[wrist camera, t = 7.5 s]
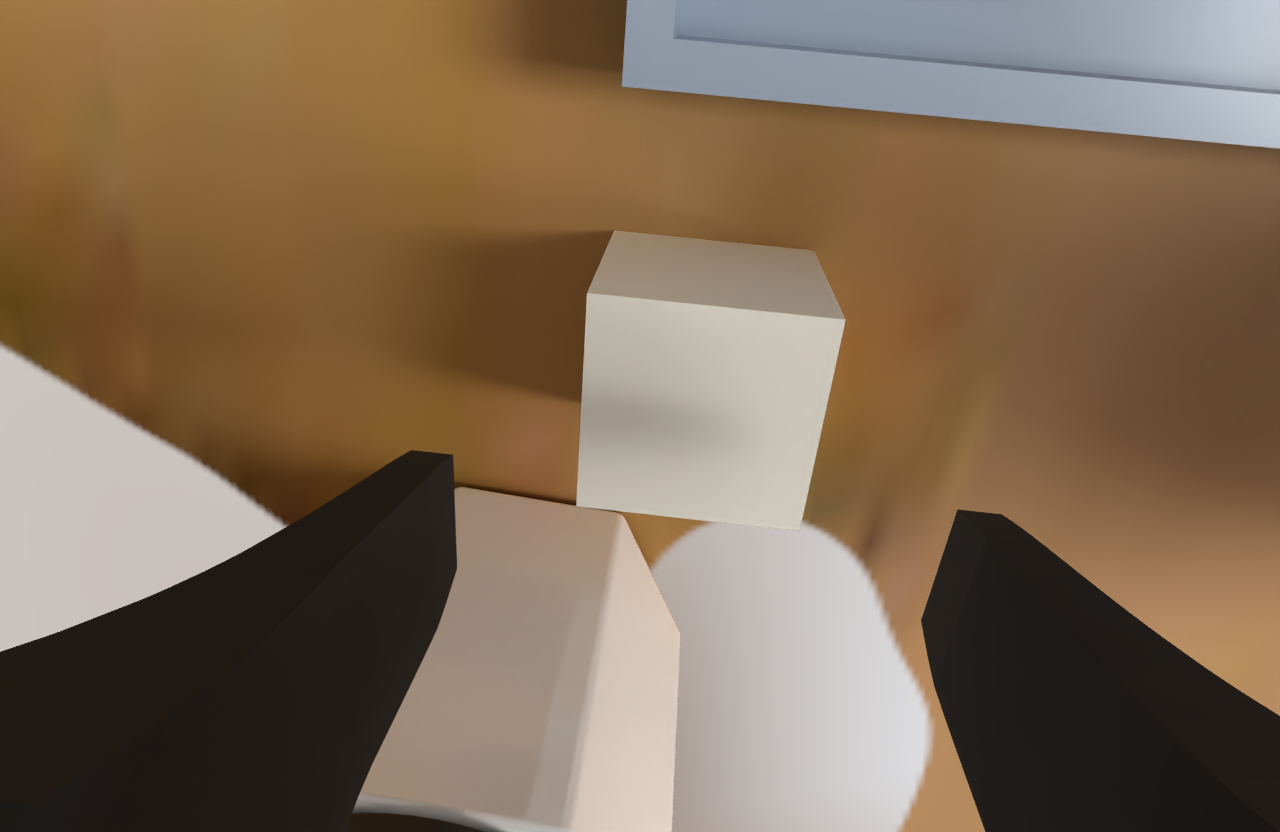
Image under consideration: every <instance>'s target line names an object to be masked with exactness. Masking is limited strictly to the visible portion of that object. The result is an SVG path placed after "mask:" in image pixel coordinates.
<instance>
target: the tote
mask: <svg viewBox="0 0 1280 832" xmlns="http://www.w3.org/2000/svg"><path fill="white" fill-rule="evenodd" d="M622 87H632V88H642V89H653V90H664V91H674V92H685V93H695V94H706V95H717V96H727V97H738V98H748V99H759V100H770V101H780V102H791V103H801V104H812V105H823V106H833V107H844V108H854V109H865V110H876V111H886V112H897V113H907V114H918V115H929V116H939V117H950V118H960V119H971V120H982V121H992V122H1003V123H1013V124H1024V125H1035V126H1045V127H1056V128H1066V129H1077V130H1088V131H1098V132H1109V133H1119V134H1130V135H1141V136H1151V137H1162V138H1172V139H1183V140H1194V141H1204V142H1215V143H1225V144H1236V145H1247V146H1257V147H1268V148H1278V149H1280V0H627V12H626V28H625V43H624V59H623V75H622Z"/></svg>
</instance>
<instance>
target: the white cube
mask: <svg viewBox="0 0 1280 832" xmlns="http://www.w3.org/2000/svg"><path fill="white" fill-rule="evenodd" d="M845 320H846V319H845V317H844V315H843V313H842V311H841V308H840V306H839V304H838V302H837V300H836V297H835V295H834V293H833V291H832V289H831V286H830V284H829V282H828V280H827V278H826V275H825V273H824V271H823V269H822V266H821V264H820V262H819V260H818V258H817V255H816V253H815V251H814V250H804V249H794V248H784V247H774V246H765V245H755V244H745V243H735V242H725V241H715V240H705V239H695V238H685V237H675V236H665V235H655V234H645V233H635V232H626V231H616V230H614V232H613V234H612V237H611V239H610V241H609V244H608V246H607V248H606V250H605V253H604V255H603V257H602V260H601V262H600V264H599V267H598V269H597V271H596V274H595V276H594V278H593V280H592V283H591V285H590V287H589V290H588V292H587V304H586V323H585V343H584V363H583V383H582V402H581V422H580V442H579V461H578V481H577V501H576V506H578V507H587V508H596V509H605V510H614V511H623V512H631V513H640V514H649V515H658V516H667V517H676V518H685V519H694V520H703V521H712V522H721V523H730V524H739V525H748V526H756V527H766V528H774V529H784V530H793V531H800V527H801V522H802V517H803V513H804V508H805V504H806V499H807V494H808V490H809V485H810V481H811V476H812V472H813V467H814V462H815V458H816V453H817V449H818V444H819V439H820V435H821V430H822V426H823V421H824V417H825V412H826V407H827V403H828V398H829V394H830V389H831V384H832V380H833V375H834V371H835V366H836V361H837V357H838V352H839V348H840V343H841V339H842V334H843V329H844V325H845Z"/></svg>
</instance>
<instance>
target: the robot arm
mask: <svg viewBox="0 0 1280 832" xmlns="http://www.w3.org/2000/svg"><path fill="white" fill-rule="evenodd" d="M456 571H457V547H456V520H455V494H454V468H453V455H450V454H441V453H432V452H422V451H413V450H411V451H409V452H407V453H406V454H404V455H402V456H400V457H399V458H397V459H395V460H394V461H392V462H391V463H389V464H387V465H386V466H384V467H383V468H381V469H380V470H378V471H376V472H375V473H373V474H372V475H370V476H369V477H367V478H366V479H364V480H363V481H361V482H359V483H358V484H356V485H355V486H353V487H352V488H350V489H349V490H347V491H345V492H344V493H342V494H341V495H339V496H337V497H336V498H334V499H333V500H331V501H329V502H328V503H326V504H325V505H323V506H321V507H320V508H318V509H317V510H315V511H313V512H312V513H310V514H309V515H307V516H305V517H304V518H302V519H300V520H298V521H297V522H295V523H293V524H291V525H289V526H288V527H286V528H284V529H282V530H281V531H279V532H277V533H275V534H274V535H272V536H270V537H268V538H267V539H265V540H263V541H262V542H259V543H258V544H256V545H254V546H253V547H251V548H249V549H247V550H245V551H244V552H242V553H240V554H238V555H236V556H234V557H232V558H230V559H228V560H226V561H225V562H222V563H220V564H218V565H216V566H214V567H212V568H210V569H208V570H206V571H205V572H202V573H200V574H198V575H196V576H194V577H191V578H189V579H187V580H185V581H183V582H181V583H178V584H176V585H174V586H172V587H170V588H168V589H165V590H163V591H161V592H159V593H156V594H154V595H152V596H149V597H147V598H145V599H142V600H140V601H137V602H134V603H132V604H130V605H127V606H124V607H122V608H119V609H117V610H114V611H111V612H109V613H106V614H104V615H101V616H99V617H96V618H93V619H91V620H88V621H86V622H83V623H81V624H78V625H76V626H73V627H70V628H68V629H65V630H63V631H60V632H57V633H55V634H52V635H49V636H46V637H43V638H40V639H37V640H34V641H31V642H28V643H25V644H22V645H20V646H16V647H13V648H10V649H7V650H4V651H1V652H0V832H345V831H346V829H347V826H348V823H349V820H350V818H351V815H352V812H353V810H354V807H355V804H356V801H357V799H358V796H359V794H360V792H361V789H362V787H363V785H364V782H365V780H366V778H367V775H368V773H369V771H370V768H371V766H372V764H373V762H374V760H375V758H376V756H377V754H378V752H379V749H380V747H381V745H382V743H383V741H384V739H385V737H386V735H387V733H388V731H389V729H390V727H391V725H392V723H393V721H394V719H395V716H396V714H397V712H398V710H399V708H400V706H401V704H402V702H403V700H404V698H405V696H406V694H407V692H408V690H409V688H410V686H411V683H412V681H413V679H414V677H415V675H416V673H417V671H418V669H419V667H420V665H421V663H422V661H423V658H424V656H425V654H426V652H427V650H428V648H429V646H430V644H431V642H432V639H433V637H434V635H435V633H436V631H437V629H438V626H439V623H440V620H441V617H442V614H443V611H444V608H445V605H446V602H447V599H448V596H449V593H450V590H451V587H452V583H453V580H454V577H455V574H456ZM921 622H922V628H923V633H924V639H925V644H926V649H927V655H928V660H929V664H930V669H931V673H932V678H933V682H934V686H935V689H936V693H937V696H938V699H939V702H940V704H941V707H942V710H943V713H944V716H945V719H946V722H947V725H948V728H949V731H950V733H951V736H952V739H953V742H954V745H955V748H956V750H957V753H958V756H959V759H960V762H961V764H962V767H963V770H964V773H965V776H966V778H967V781H968V784H969V787H970V790H971V792H972V795H973V798H974V801H975V804H976V806H977V809H978V812H979V815H980V818H981V821H982V823H983V826H984V829H985V832H1280V716H1279V715H1277V714H1276V713H1274V712H1273V711H1271V710H1269V709H1268V708H1266V707H1265V706H1263V705H1261V704H1260V703H1258V702H1257V701H1255V700H1253V699H1252V698H1250V697H1249V696H1247V695H1245V694H1244V693H1242V692H1241V691H1239V690H1238V689H1236V688H1235V687H1233V686H1232V685H1230V684H1229V683H1227V682H1226V681H1224V680H1223V679H1221V678H1220V677H1218V676H1217V675H1215V674H1214V673H1212V672H1211V671H1209V670H1208V669H1206V668H1205V667H1203V666H1202V665H1201V664H1199V663H1198V662H1196V661H1195V660H1194V659H1192V658H1191V657H1189V656H1188V655H1187V654H1185V653H1184V652H1182V651H1181V650H1180V649H1178V648H1177V647H1175V646H1174V645H1173V644H1171V643H1170V642H1168V641H1167V640H1166V639H1164V638H1163V637H1161V636H1160V635H1159V634H1157V633H1156V632H1155V631H1153V630H1152V629H1151V628H1149V627H1148V626H1147V625H1145V624H1144V623H1142V622H1141V621H1140V620H1138V619H1137V618H1136V617H1134V616H1133V615H1132V614H1131V613H1129V612H1128V611H1127V610H1125V609H1124V608H1123V607H1121V606H1120V605H1119V604H1118V603H1116V602H1115V601H1114V600H1112V599H1111V598H1110V597H1109V596H1107V595H1106V594H1105V593H1103V592H1102V591H1101V590H1100V589H1098V588H1097V587H1096V586H1095V585H1093V584H1092V583H1091V582H1089V581H1088V580H1087V579H1086V578H1084V577H1083V576H1082V575H1081V574H1079V573H1078V572H1077V571H1076V570H1074V569H1073V568H1072V567H1071V566H1069V565H1068V564H1067V563H1066V562H1064V561H1063V560H1062V559H1061V558H1059V557H1058V556H1057V555H1056V554H1054V553H1053V552H1052V551H1050V550H1049V549H1048V548H1047V547H1045V546H1044V545H1043V544H1042V543H1040V542H1039V541H1038V540H1036V539H1035V538H1034V537H1033V536H1031V535H1030V534H1029V533H1027V532H1026V531H1025V530H1023V529H1022V528H1021V527H1019V526H1018V525H1016V524H1015V523H1014V522H1012V521H1011V520H1009V519H1008V518H1006V517H1005V516H1003V515H1001V514H992V513H983V512H974V511H965V510H957V513H956V516H955V519H954V523H953V526H952V529H951V532H950V535H949V538H948V541H947V544H946V547H945V550H944V553H943V556H942V559H941V562H940V565H939V568H938V571H937V574H936V577H935V580H934V583H933V586H932V589H931V592H930V595H929V598H928V601H927V604H926V607H925V610H924V613H923V616H922V619H921Z"/></svg>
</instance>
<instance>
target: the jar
mask: <svg viewBox="0 0 1280 832" xmlns="http://www.w3.org/2000/svg"><path fill="white" fill-rule="evenodd" d="M454 494H455V520H456V547H457V571H456V574H455V577H454V580H453V583H452V587H451V590H450V593H449V596H448V599H447V602H446V605H445V608H444V611H443V614H442V617H441V620H440V623H439V626H438V629H437V631H436V633H435V635H434V637H433V639H432V642H431V644H430V646H429V648H428V650H427V652H426V654H425V656H424V658H423V661H422V663H421V665H420V667H419V669H418V671H417V673H416V675H415V677H414V679H413V681H412V683H411V686H410V688H409V690H408V692H407V694H406V696H405V698H404V700H403V702H402V704H401V706H400V708H399V710H398V712H397V714H396V716H395V719H394V721H393V723H392V725H391V727H390V729H389V731H388V733H387V735H386V737H385V739H384V741H383V743H382V745H381V747H380V749H379V752H378V754H377V756H376V758H375V760H374V762H373V764H372V766H371V768H370V771H369V773H368V775H367V778H366V780H365V782H364V785H363V787H362V789H361V792H360V794H359V796H358V799H357V801H356V804H355V807H354V810H353V812H352V815H351V818H350V820H349V823H348V826H347V829H346V831H345V832H672V816H673V793H674V770H675V748H676V725H677V703H678V680H679V658H680V632H679V630H678V628H677V625H676V623H675V621H674V619H673V617H672V615H671V613H670V611H669V609H668V607H667V605H666V602H665V600H664V598H663V596H662V594H661V592H660V590H659V588H658V586H657V584H656V582H655V580H654V578H653V575H652V573H651V571H650V569H649V567H648V565H647V563H646V561H645V559H644V557H643V555H642V553H641V550H640V548H639V546H638V544H637V542H636V540H635V538H634V536H633V534H632V532H631V530H630V528H629V526H628V523H627V521H626V519H625V518H624V516H623V515H621V514H619V513H617V512H612V511H606V510H599V509H593V508H587V507H578V506H575V505H569V504H563V503H556V502H550V501H544V500H538V499H532V498H526V497H520V496H514V495H508V494H502V493H496V492H490V491H484V490H479V489H473V488H467V487H458V488H456V489H454Z"/></svg>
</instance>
